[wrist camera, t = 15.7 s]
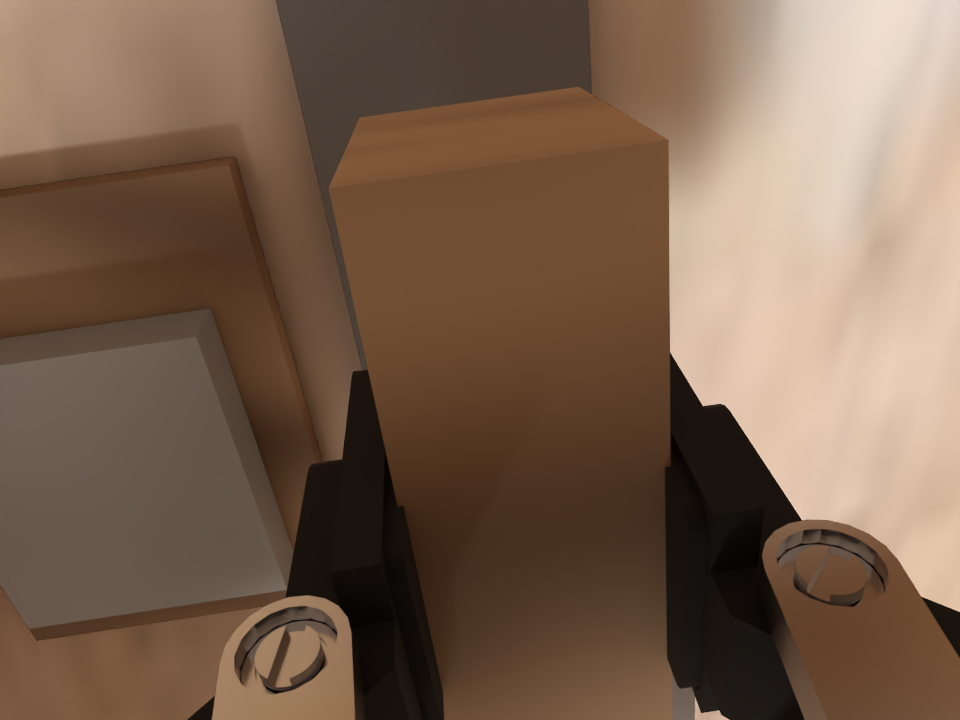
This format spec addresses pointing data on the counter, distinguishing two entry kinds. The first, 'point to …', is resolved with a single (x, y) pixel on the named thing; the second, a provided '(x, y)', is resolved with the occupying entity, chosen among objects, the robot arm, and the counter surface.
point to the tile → (130, 473)
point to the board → (162, 305)
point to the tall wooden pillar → (523, 392)
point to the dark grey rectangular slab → (421, 66)
